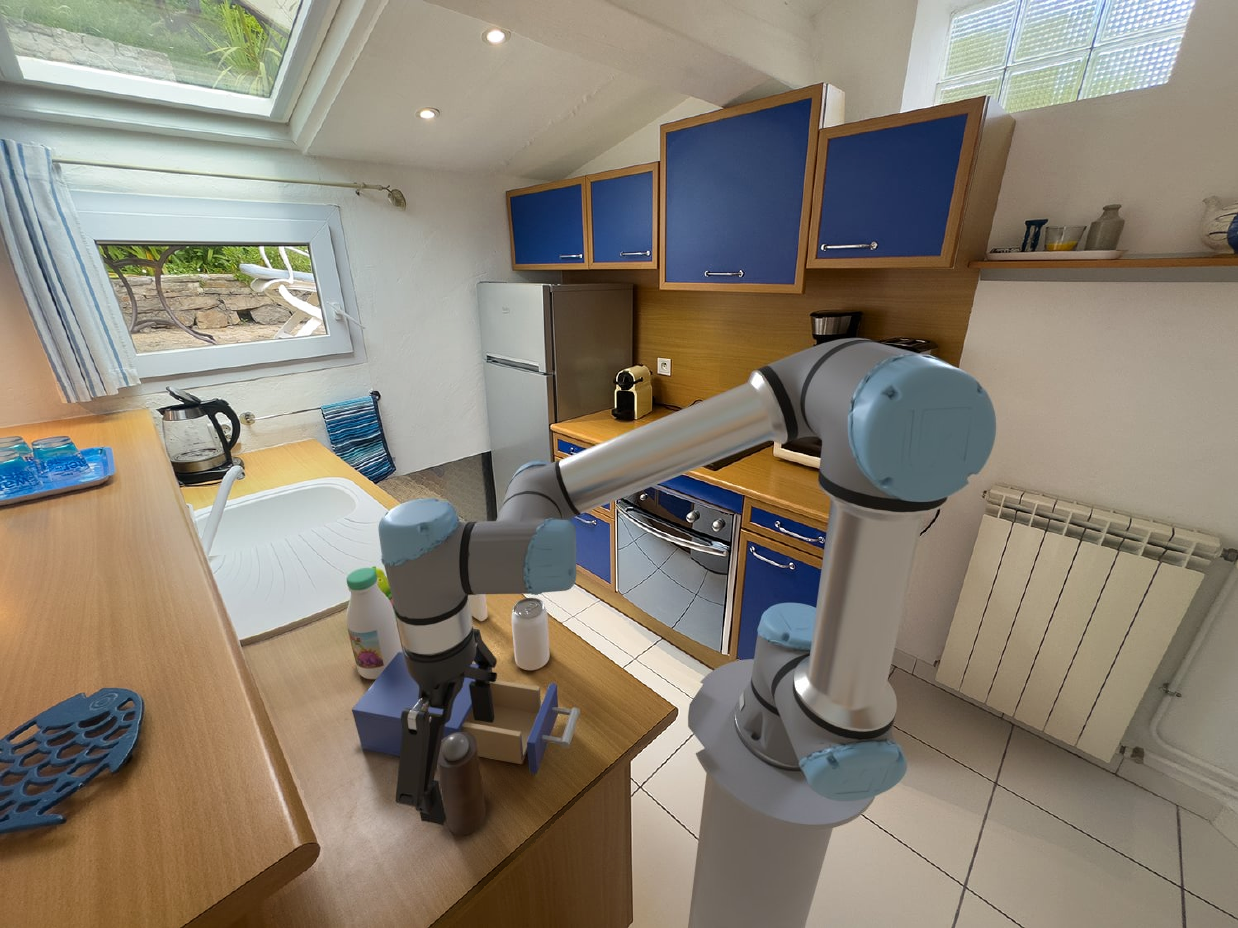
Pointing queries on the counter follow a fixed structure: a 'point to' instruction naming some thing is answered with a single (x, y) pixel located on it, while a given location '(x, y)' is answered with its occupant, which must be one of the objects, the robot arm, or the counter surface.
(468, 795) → the pepper mill
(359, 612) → the milk bottle
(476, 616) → the perfume bottle
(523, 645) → the can
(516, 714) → the drawer
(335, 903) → the counter surface
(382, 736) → the cabinet
